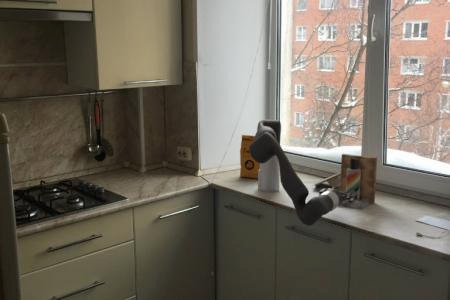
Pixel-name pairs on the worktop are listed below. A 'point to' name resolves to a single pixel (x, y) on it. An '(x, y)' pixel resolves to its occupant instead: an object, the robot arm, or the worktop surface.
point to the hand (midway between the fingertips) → (344, 191)
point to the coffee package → (248, 159)
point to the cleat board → (366, 180)
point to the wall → (331, 180)
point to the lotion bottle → (353, 177)
